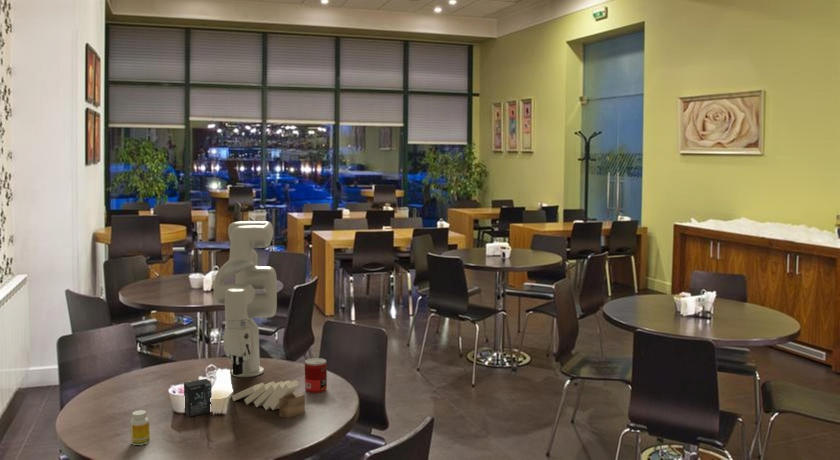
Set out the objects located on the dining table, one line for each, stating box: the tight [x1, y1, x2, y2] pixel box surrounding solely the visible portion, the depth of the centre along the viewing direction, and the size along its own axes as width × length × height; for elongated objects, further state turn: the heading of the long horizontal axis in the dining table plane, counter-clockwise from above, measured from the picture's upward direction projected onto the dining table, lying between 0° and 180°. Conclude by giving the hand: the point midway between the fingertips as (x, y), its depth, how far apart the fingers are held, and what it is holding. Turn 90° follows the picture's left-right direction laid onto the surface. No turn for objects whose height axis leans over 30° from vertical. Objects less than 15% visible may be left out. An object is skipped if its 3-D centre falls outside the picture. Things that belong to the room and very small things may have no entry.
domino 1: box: [231, 382, 265, 402], centre depth 268 cm, size 2×5×12 cm
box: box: [183, 378, 212, 418], centre depth 257 cm, size 8×6×11 cm
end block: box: [278, 391, 306, 419], centre depth 257 cm, size 4×8×6 cm, turn 146°
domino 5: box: [270, 379, 300, 411], centre depth 258 cm, size 2×5×12 cm
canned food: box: [304, 357, 328, 394], centre depth 281 cm, size 8×8×11 cm
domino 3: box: [253, 380, 284, 408], centre depth 262 cm, size 2×5×12 cm
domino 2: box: [243, 380, 276, 405], centre depth 265 cm, size 2×5×12 cm
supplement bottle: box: [129, 409, 151, 446], centre depth 232 cm, size 5×5×10 cm
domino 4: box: [262, 380, 291, 411], centre depth 260 cm, size 2×5×12 cm
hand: (237, 374), depth 270 cm, fingers closed
